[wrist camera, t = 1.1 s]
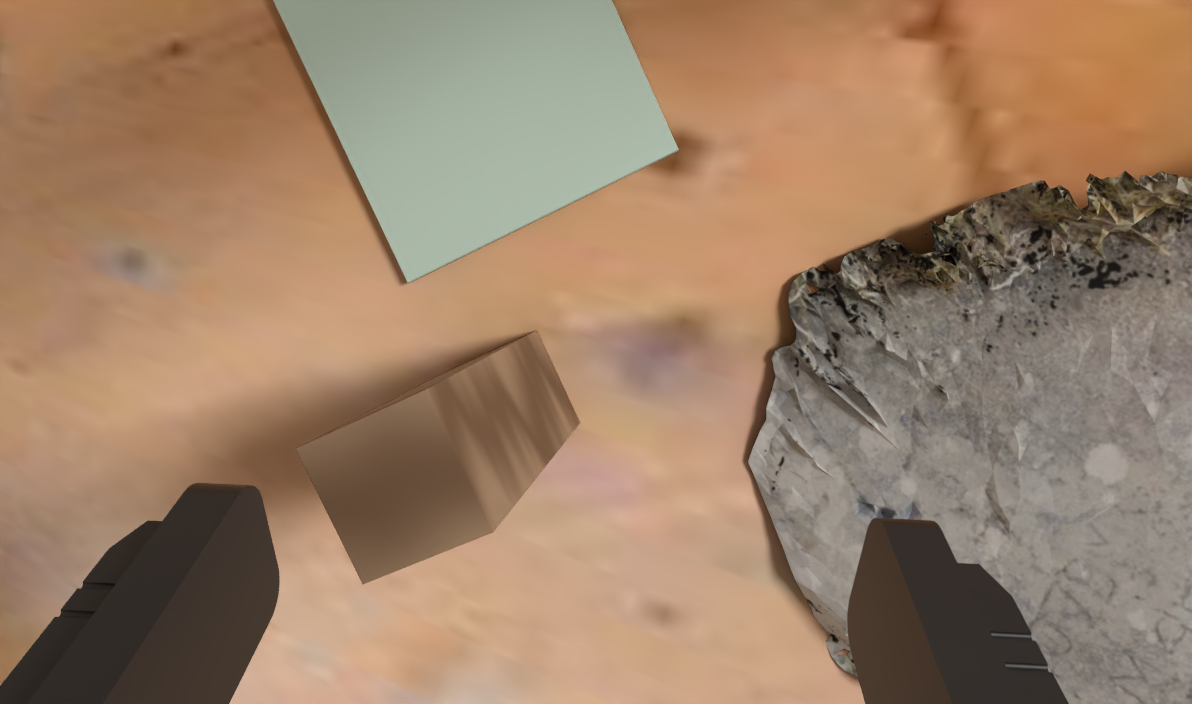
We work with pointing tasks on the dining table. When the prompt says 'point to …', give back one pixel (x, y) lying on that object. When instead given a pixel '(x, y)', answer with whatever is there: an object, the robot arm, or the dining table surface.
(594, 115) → the mat
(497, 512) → the walnut block
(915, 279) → the stone fragment
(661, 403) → the dining table surface
